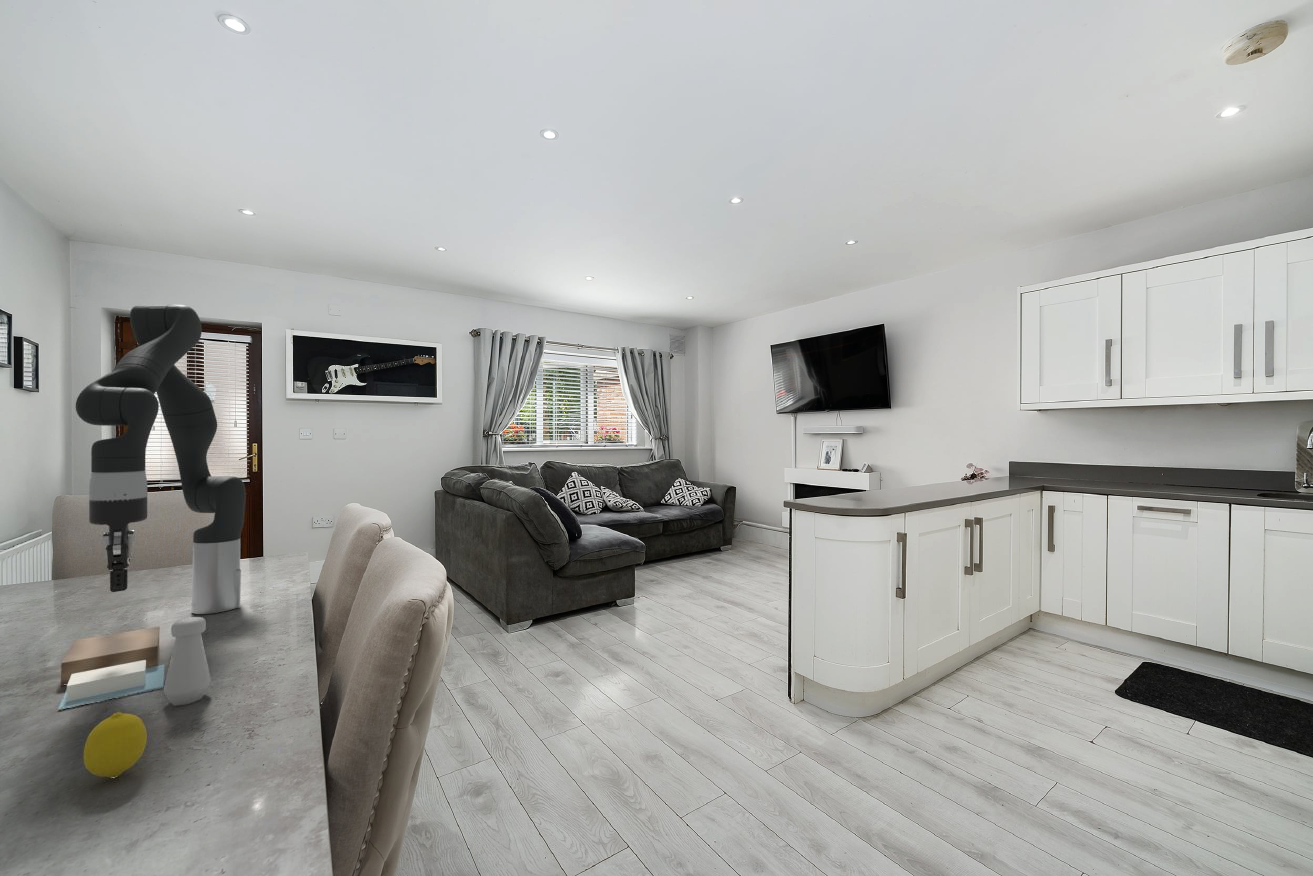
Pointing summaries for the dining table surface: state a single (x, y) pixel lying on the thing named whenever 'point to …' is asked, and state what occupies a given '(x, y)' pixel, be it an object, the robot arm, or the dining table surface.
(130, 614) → the dining table surface
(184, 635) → the salt shaker
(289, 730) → the dining table surface
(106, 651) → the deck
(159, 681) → the mat
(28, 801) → the dining table surface
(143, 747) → the lemon
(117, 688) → the white bevelled block
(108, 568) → the robot arm
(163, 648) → the dining table surface
